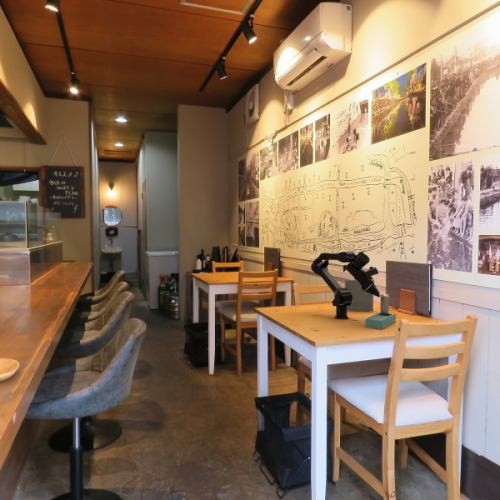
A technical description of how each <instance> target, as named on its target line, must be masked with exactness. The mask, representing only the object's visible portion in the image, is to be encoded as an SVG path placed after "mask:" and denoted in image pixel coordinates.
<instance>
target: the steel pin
mask: <svg viewBox="0 0 500 500" xmlns="http://www.w3.org/2000/svg"><path fill="white" fill-rule="evenodd" d="M379 305H380V307H379V308H380V309H379V310H380V311H379V312H380V315H383V316H389V313H390V312H389V311H390V294H389V293H380V304H379Z"/></svg>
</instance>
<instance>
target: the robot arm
mask: <svg viewBox="0 0 500 500" xmlns="http://www.w3.org/2000/svg"><path fill="white" fill-rule="evenodd" d="M330 261H338V262H339V263H342V264H343V263H344V265H343V266H342V272H343V273H344V272H346V271H347V272H348V274H350V275H351V276H352V277H353V280H357V281H358V282H359V283H360V285H361V289H362V290H363V291H365V292H368V293H370V294H372V295H373V296H375V297H377V298H381V292H380V291H379V289H378V288H377V286H376V284H375V279H374V277H373V276H375V275H378V274H379V270H378V268H377V267H376V266H375V267H374V266H369V269H367V270H364V269H363V268H365V266H367V265H368V264H369V263H370V257H369V256H368V255H367V254H365V253H364V252H363V251H359V252H358V253H357V254H356V253H355V252H354V251H352V250H351V251H341V252H340V251H339V252H337V253H335V252H334V253H333V252H321V253H319V255H318V256H317V257H316V258H315V259H314V260H313V261H312V263H311V265H310V269H311V271H312V272H313V273H314V274H315V275H318V276H320V277H321V279H322V280H323V281H324V282H325V283H326V285H327V287H328V288H329V289H330V290H331V292H333V298H334V299H332V302H331V304H332V306H333V307H336V308H335V314H334V317H335V319H349V316H348V311H347V306H351V303H352V299H353V297H352V294H351V292H350V291H349V290H348V288H347V287H346V288H345V287H342V286H341V285H340V284H339V282H338V281H337V280H336V279H335V278H334V277H333V275H332V274H331V273H330V272H329V267H328V266H329V265H330Z"/></svg>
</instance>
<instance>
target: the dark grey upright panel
mask: <svg viewBox="0 0 500 500" xmlns="http://www.w3.org/2000/svg"><path fill="white" fill-rule="evenodd" d="M346 287H347V288H348V290H349V291H350V292H351V294H352V297H353V299H352V303H351V306H347V312H351V311H352V312H367V311H373V312H374V295H372V294H370V293H368V292H365V291H363V290H362V289H361V285H360V283H359V282H358V281H357V280H355V279H345V280H344V288H346Z"/></svg>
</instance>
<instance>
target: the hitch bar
mask: <svg viewBox="0 0 500 500" xmlns="http://www.w3.org/2000/svg"><path fill="white" fill-rule="evenodd" d="M364 319H365V320H364V321H365V322H364V323H365V325H364V326H365V328H369V329H375V330H377V329H378V330H384V329H386V328H387V327H389V326H391V325H392V324H395V323H396V322H397V314H396V313H392V312H389V316H383V315H380V311H379V312H376V313H375V314H372V315H370V316H368V317H366V318H364Z"/></svg>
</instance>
